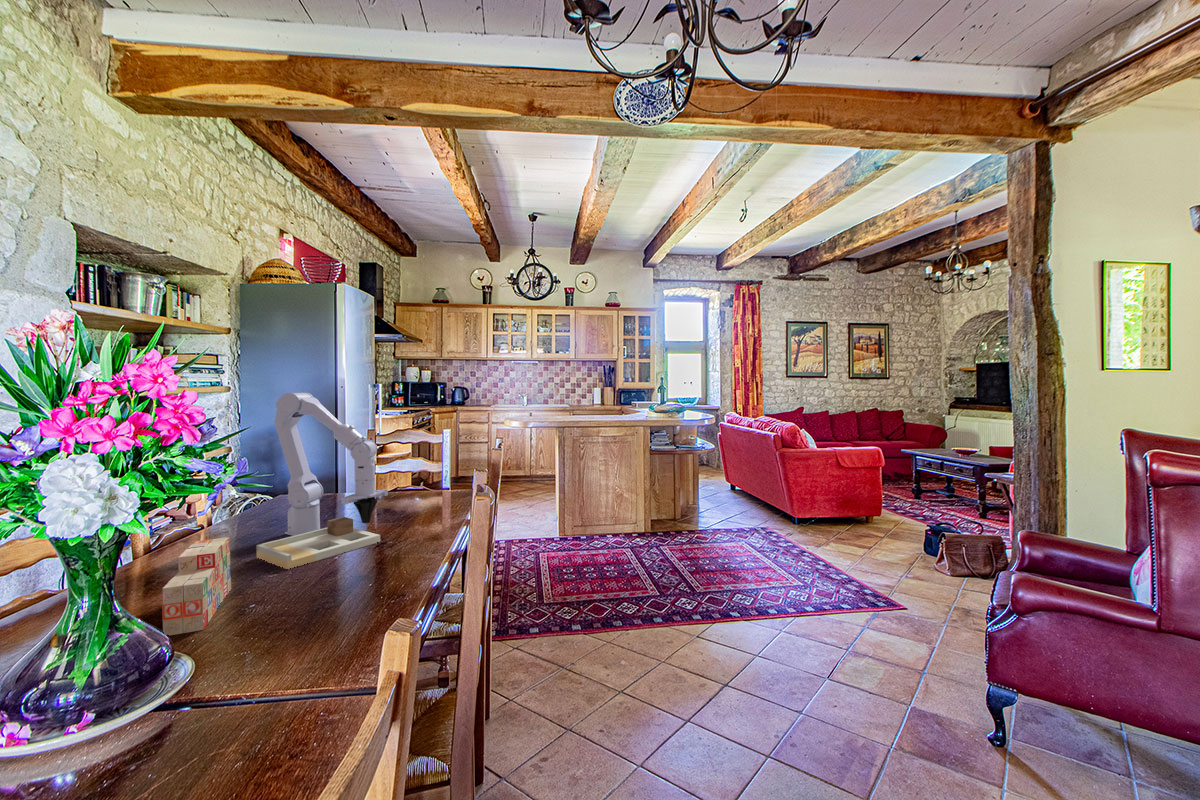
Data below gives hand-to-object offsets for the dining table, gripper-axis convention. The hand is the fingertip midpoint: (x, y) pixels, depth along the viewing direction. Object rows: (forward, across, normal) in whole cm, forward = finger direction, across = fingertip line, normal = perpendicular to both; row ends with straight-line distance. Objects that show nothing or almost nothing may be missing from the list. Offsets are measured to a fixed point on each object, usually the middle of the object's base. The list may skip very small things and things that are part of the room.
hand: (365, 522), depth 158 cm
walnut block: (+1, -8, 0) cm, 8 cm away
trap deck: (+3, -16, -4) cm, 17 cm away
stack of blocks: (+4, -51, -20) cm, 55 cm away
